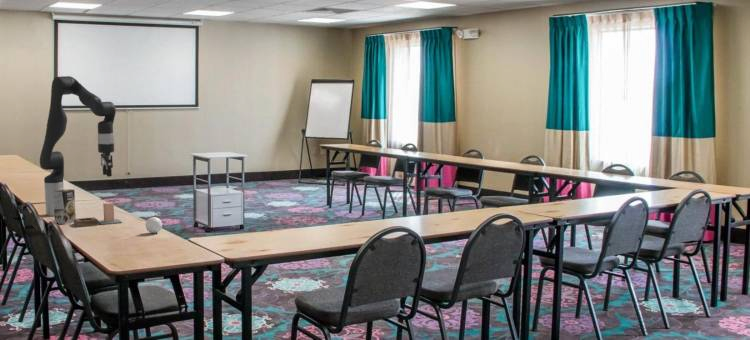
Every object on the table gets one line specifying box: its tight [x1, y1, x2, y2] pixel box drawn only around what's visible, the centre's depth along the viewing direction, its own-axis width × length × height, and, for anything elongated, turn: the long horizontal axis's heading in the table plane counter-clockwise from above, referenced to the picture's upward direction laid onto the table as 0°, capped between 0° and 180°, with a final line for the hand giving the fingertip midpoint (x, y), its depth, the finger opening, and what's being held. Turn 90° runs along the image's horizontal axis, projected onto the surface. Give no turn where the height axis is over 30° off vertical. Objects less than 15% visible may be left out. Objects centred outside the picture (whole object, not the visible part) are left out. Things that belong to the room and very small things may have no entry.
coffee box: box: [53, 189, 77, 225], centre depth 394 cm, size 9×6×16 cm
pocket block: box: [73, 216, 99, 228], centre depth 389 cm, size 10×10×2 cm
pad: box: [98, 218, 123, 226], centre depth 394 cm, size 10×10×1 cm
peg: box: [102, 202, 115, 222], centre depth 394 cm, size 4×4×9 cm
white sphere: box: [145, 217, 163, 234], centre depth 365 cm, size 10×7×7 cm
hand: (107, 175), depth 392 cm, fingers open, 8 cm apart
